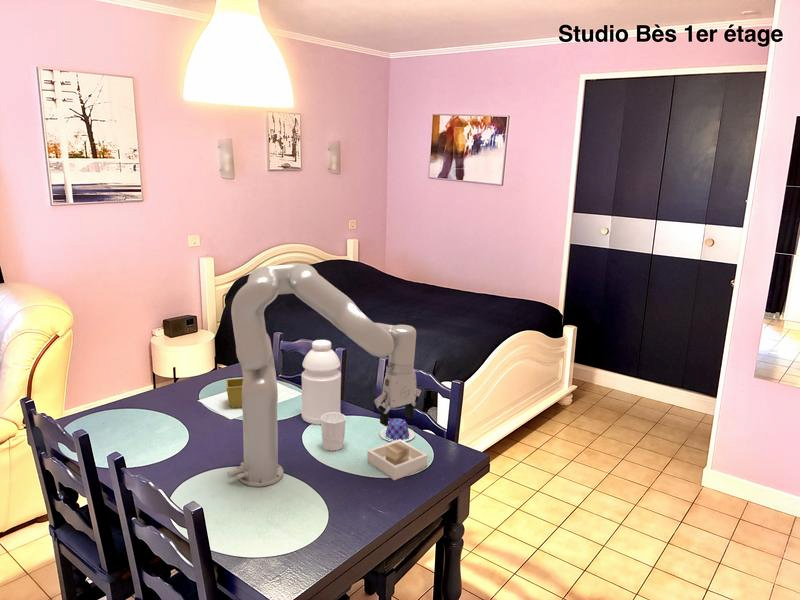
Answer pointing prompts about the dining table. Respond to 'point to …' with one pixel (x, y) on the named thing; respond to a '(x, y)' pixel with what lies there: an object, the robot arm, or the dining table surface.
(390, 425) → the pudding
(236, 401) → the flower pot
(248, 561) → the dining table surface
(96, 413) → the dining table surface
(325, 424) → the white cup
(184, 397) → the dining table surface
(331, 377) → the white bottle
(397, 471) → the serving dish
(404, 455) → the beech cube
